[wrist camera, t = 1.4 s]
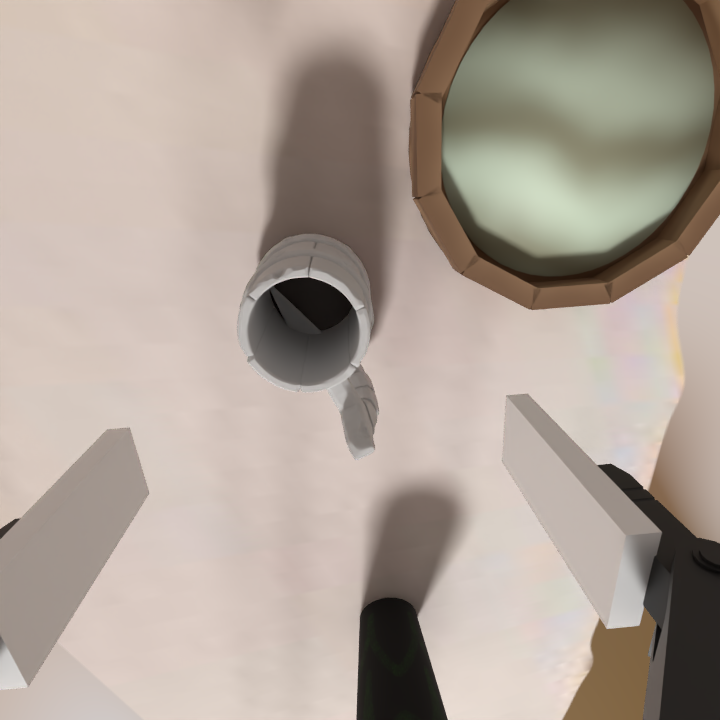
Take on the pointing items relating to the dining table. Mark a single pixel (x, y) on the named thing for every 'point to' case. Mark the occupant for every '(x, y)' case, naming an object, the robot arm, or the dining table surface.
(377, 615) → the cup
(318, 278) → the mug
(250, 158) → the dining table surface
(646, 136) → the tray
